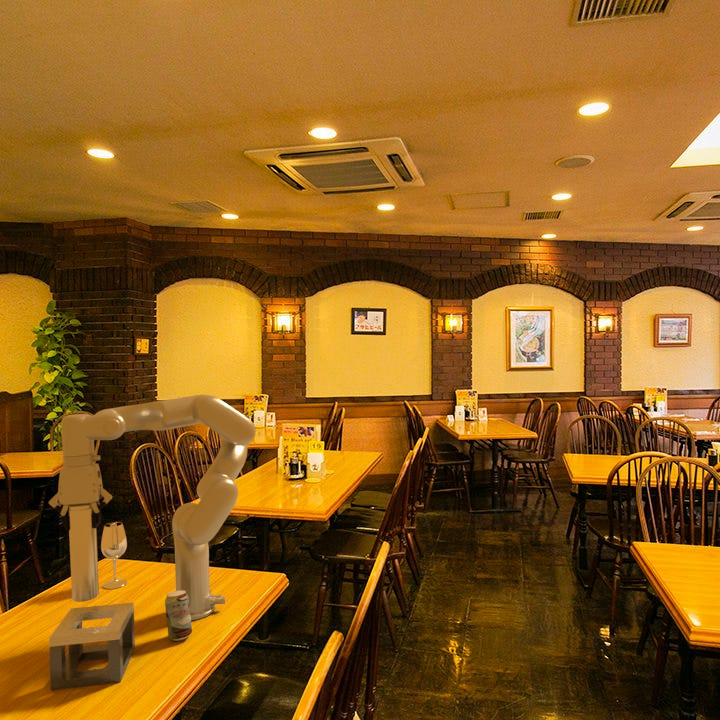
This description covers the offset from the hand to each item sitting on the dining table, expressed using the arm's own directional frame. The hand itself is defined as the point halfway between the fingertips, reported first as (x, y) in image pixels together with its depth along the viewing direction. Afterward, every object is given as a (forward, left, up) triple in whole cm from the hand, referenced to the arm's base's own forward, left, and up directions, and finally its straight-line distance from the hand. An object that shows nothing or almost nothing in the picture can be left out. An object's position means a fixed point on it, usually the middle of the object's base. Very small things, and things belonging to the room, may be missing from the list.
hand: (82, 527), depth 149 cm
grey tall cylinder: (0, 0, -19) cm, 19 cm away
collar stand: (-7, +15, -30) cm, 34 cm away
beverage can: (-25, +4, -30) cm, 39 cm away
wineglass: (+1, -37, -30) cm, 48 cm away
